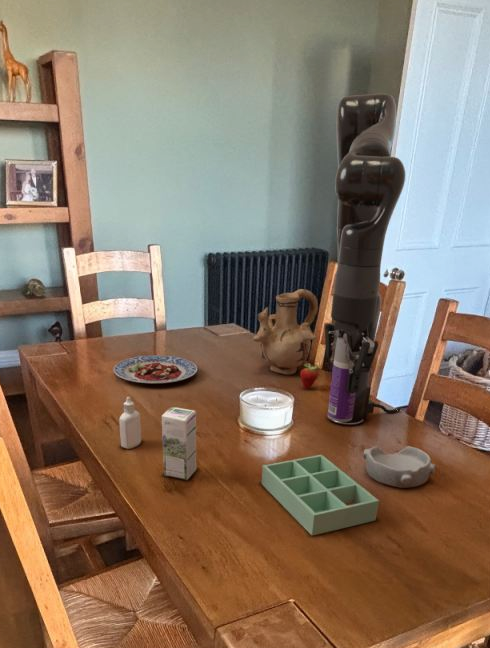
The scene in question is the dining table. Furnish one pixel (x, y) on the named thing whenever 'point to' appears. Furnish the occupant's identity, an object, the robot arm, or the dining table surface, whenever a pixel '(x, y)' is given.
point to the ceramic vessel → (286, 333)
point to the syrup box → (179, 442)
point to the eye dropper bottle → (130, 426)
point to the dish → (399, 466)
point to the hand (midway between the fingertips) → (343, 387)
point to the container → (341, 386)
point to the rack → (319, 494)
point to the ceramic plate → (155, 369)
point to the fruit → (308, 376)
